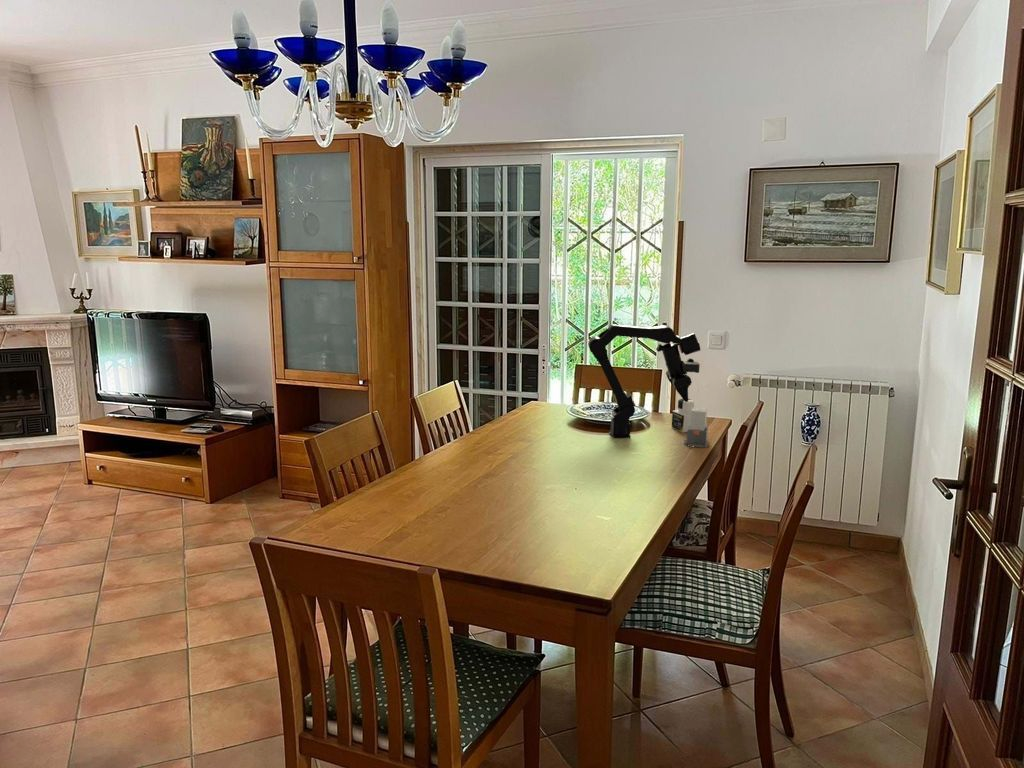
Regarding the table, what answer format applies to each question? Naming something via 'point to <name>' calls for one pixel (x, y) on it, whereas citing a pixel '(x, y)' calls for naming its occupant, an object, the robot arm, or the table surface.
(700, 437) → the base
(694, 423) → the column
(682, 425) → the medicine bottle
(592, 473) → the table surface
